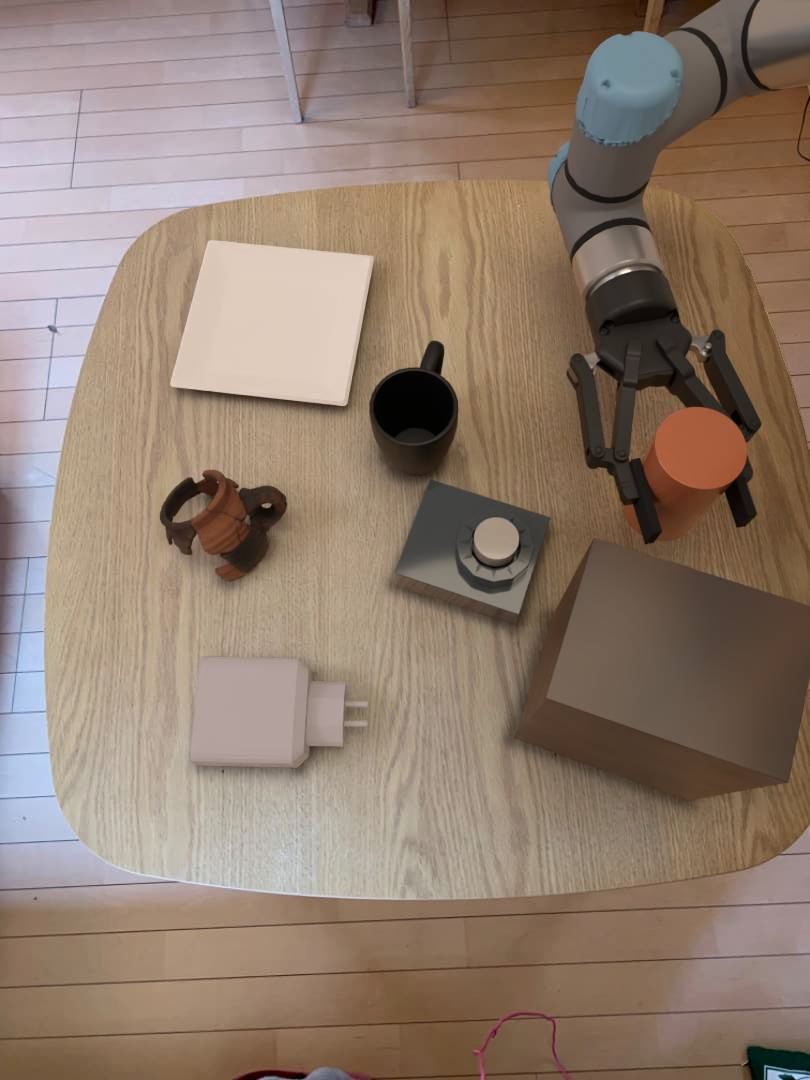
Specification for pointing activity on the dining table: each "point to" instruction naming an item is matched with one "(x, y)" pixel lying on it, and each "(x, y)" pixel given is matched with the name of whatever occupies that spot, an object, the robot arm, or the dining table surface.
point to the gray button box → (468, 553)
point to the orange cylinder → (689, 468)
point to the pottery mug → (225, 521)
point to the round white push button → (495, 541)
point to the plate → (274, 322)
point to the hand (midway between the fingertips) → (700, 529)
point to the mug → (415, 414)
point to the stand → (670, 676)
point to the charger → (265, 712)
